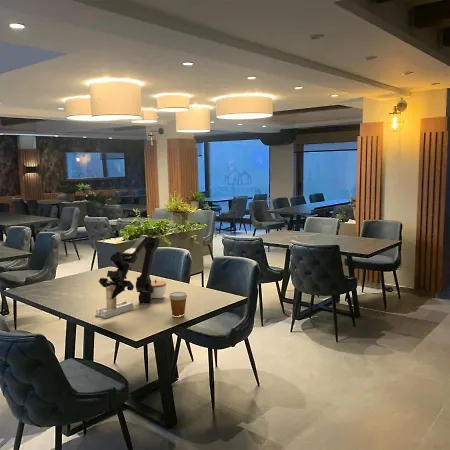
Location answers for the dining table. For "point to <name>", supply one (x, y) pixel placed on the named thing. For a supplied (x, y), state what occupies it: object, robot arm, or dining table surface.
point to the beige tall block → (110, 298)
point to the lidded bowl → (158, 288)
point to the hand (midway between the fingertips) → (109, 298)
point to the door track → (120, 309)
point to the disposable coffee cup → (178, 303)
